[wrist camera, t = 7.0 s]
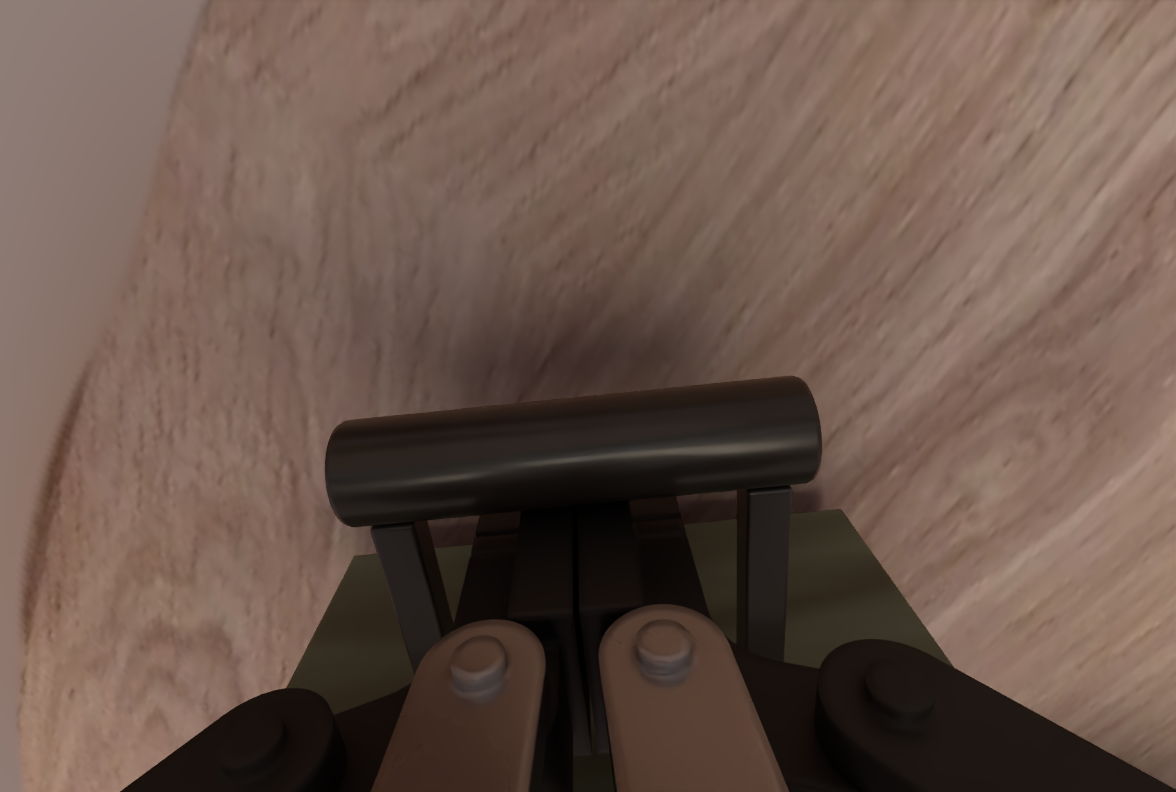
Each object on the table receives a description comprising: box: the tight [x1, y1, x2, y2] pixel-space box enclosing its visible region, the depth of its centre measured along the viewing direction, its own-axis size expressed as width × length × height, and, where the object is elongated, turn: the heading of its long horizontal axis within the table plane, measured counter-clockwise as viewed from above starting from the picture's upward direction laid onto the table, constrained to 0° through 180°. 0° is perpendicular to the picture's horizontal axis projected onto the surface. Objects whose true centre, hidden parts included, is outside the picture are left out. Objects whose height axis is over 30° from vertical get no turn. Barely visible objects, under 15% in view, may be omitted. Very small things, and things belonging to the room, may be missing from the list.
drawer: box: [287, 376, 954, 792], centre depth 13 cm, size 19×12×7 cm, turn 6°
